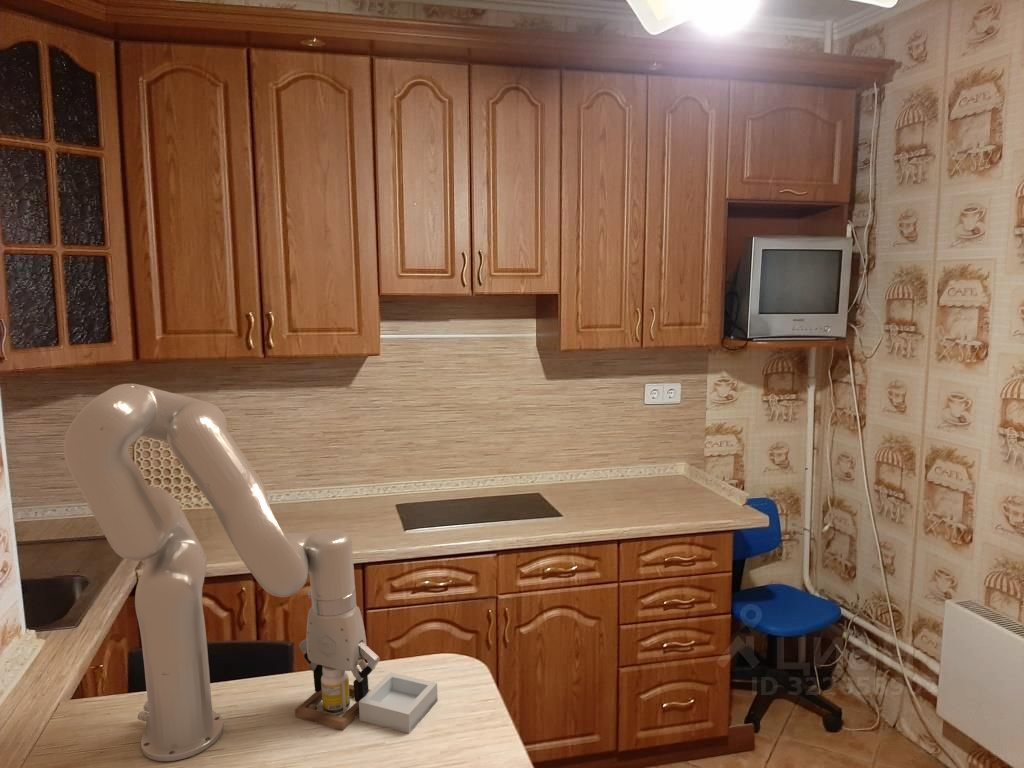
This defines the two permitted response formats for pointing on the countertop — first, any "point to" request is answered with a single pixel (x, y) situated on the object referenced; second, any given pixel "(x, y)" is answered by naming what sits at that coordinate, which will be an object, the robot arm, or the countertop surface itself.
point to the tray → (311, 714)
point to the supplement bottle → (335, 690)
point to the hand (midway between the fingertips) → (341, 692)
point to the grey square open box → (398, 702)
